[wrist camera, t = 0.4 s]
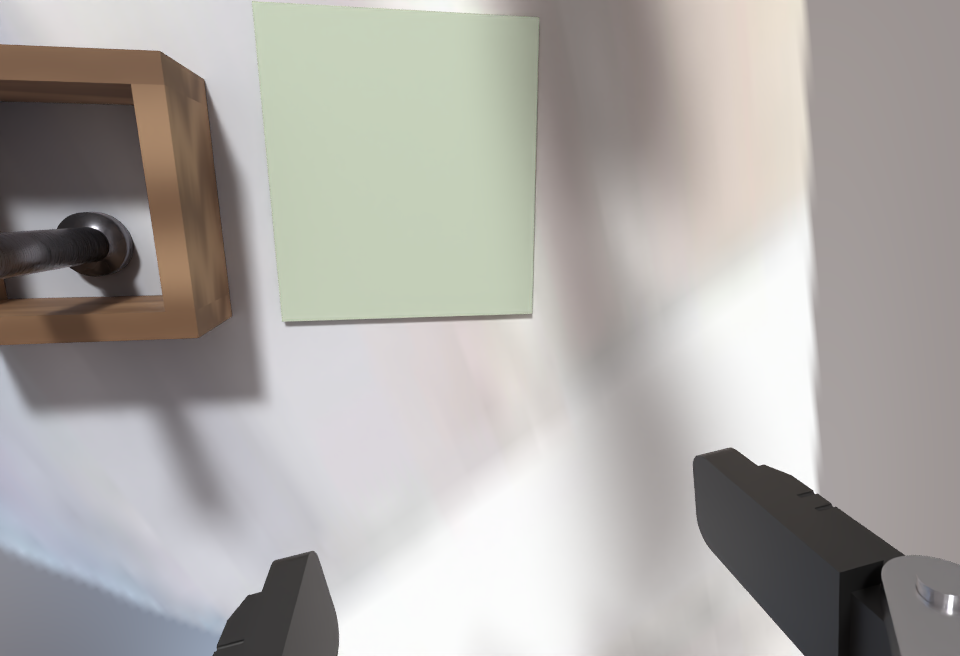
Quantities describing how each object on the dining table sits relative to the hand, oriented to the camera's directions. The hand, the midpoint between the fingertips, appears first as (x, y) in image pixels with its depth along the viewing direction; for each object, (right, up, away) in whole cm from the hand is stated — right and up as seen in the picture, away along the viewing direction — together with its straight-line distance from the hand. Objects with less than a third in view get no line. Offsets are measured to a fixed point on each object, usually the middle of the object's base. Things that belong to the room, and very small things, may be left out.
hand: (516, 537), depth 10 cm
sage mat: (-6, +15, +24) cm, 29 cm away
